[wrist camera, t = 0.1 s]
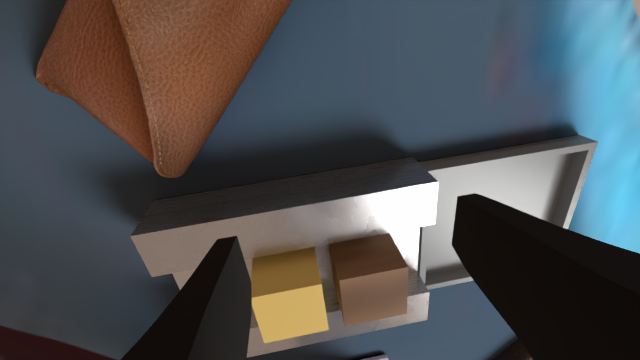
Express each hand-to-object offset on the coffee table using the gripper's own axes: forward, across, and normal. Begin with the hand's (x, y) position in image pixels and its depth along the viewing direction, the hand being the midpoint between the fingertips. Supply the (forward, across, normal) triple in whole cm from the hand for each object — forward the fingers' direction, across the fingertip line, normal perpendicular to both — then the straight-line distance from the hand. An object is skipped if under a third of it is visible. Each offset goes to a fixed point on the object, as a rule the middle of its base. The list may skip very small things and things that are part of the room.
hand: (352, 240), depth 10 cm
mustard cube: (+8, +3, +8) cm, 12 cm away
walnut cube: (+8, -2, +8) cm, 12 cm away
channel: (+10, +2, +8) cm, 13 cm away
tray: (+10, -13, +8) cm, 18 cm away
